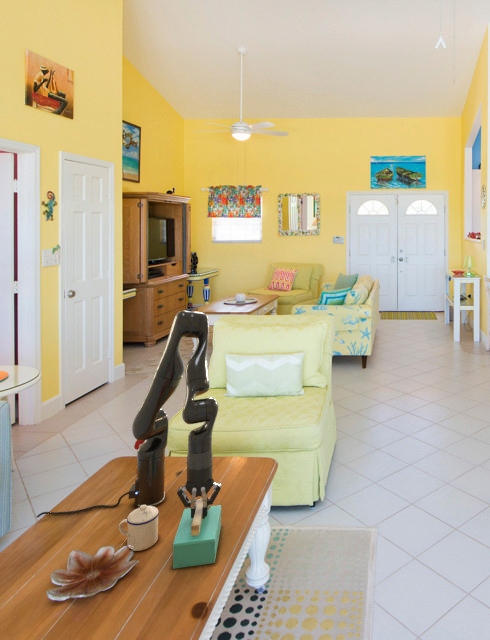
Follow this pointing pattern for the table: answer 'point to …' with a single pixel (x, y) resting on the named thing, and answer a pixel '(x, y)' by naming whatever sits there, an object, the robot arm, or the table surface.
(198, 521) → the spoon
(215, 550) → the box
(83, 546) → the table surface
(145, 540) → the teacup with lid
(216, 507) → the lunchbox lid
